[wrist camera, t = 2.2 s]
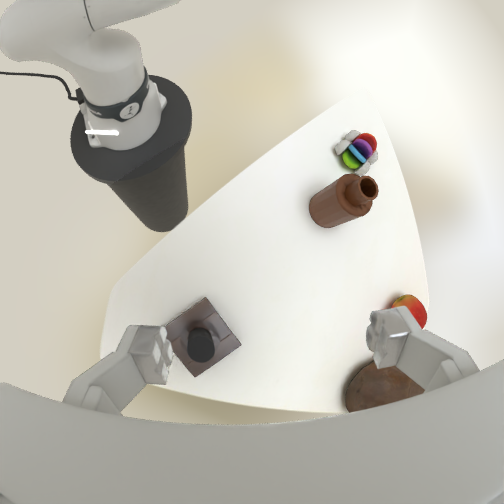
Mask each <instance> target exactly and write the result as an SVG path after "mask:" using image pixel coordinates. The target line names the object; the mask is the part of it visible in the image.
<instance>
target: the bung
mask: <svg viewBox="0 0 504 504" xmlns="http://www.w3.org/2000/svg"><path fill="white" fill-rule="evenodd" d="M187 353H188V355H189V357H190V358H191V359H192V360H193V361H195V362H199V363H204V362H207V361H209V360H210V359H212V357H213V356H214V353H215V346H214V343H213V339H212V336H211V334H210V332H209V331H208V330H206V329H204V328H195V329H193V330H192V331H191V332H190V334H189V336H188V343H187Z"/></svg>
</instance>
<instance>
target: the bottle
mask: <svg viewBox="0 0 504 504" xmlns="http://www.w3.org/2000/svg"><path fill="white" fill-rule="evenodd" d="M377 195H378V186H377V184H376V182H375V181H374V179H372V178H371V177H369V176H362V177H360V176H358V175H355V174H345V175H343V176H342V177H340V178H339V179H337V180H336V181H335V182H333V183H332V184H330V185H329V186H327V187H326V188H324V189H323V190H321V191H320V192H318V193H317V194H315V195H314V196H313V197H312V199H311V201H310V204H309V211H310V215H311V217H312V219H313V220H314V221H315V223H317V224H318V225H319V226H321V227H324V228H331V227H335V226H337V225H340V224H343V223H345V222H348V221H351V220H353V219H356V218H359V217H361V216H364V215H365V214H367V213H368V212H369V211H370V209H371V206H372V200H374V199H375V198H376V197H377Z"/></svg>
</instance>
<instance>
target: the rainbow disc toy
mask: <svg viewBox="0 0 504 504" xmlns="http://www.w3.org/2000/svg"><path fill="white" fill-rule="evenodd" d="M351 142H353V143H352V144H351ZM376 147H377V142H376V139H375V137H374V136H373V135H371V134H369V133H363V134H361V135H360V132H358V131H356V130H352V131H350V132H349V133H348V134H347V135H346V137H345V140H341V141H340V142H339V143H338V144H337V145H336V147H335V150H336V153H337V155H340V154H341V153H342V152H343V151H344V150H345V149H346V150H345V152H344V153H343V154H342V156H343V161H344V163H345V164H346V165H347V166H348V167H350V168H352V169H356V170H355V173H356V174H358V175H364V174H365V173H367V172H368V171H369V169H370V165H371V164H373V163H374V162H375V161H376V160H377V159H378V153H377V151H376Z"/></svg>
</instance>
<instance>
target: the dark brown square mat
mask: <svg viewBox="0 0 504 504" xmlns="http://www.w3.org/2000/svg"><path fill="white" fill-rule="evenodd" d="M164 327H165V329H166V331H167V336H166V339H168V340H169V341H170V343H171V346H172V350H173V351H174V353H175V354H176V355H177V356H178V358H179V359H180V360H181V361H182V363H183V364H184V365H185V366H186V368H187V369H188V370H189V371H190V372H191V374H192V375H193V376H194V377H197V376H198V375H200V374H201V373H202V372H204V371H205V370H207V369H208V368H210V367H211V366H213V365H214V364H216V363H217V362H218V361H220V360H221V359H223V358H224V357H225V356H227V355H228V354H230V353H231V352H232V351H234V350H235V349H237V348H238V347H239V346H241V343H240V342H239V340H238V339H237V338H236V337H235V335H234V334H233V333H232V331H231V330H230V329H229V327H228V326H227V325H226V324H225V322H224V321H223V320H222V318H221V317H220V316H219V314H218V313H217V311H216V310H215V309H214V307H213V306H212V305H211V303H210V302H209V301H208V299H207V298H206V297H205V298H204V299H202V300H201V301H200V302H198V303H197V304H195V305H194V306H193V307H191V308H190V309H188V310H187V311H186V312H184V313H183V314H181V315H180V316H179V317H177V318H176V319H174V320H173V321H172V322H170V323H169V324H167V325H166V326H164ZM195 328H204V329H206V330H208V331H209V332H210V334H211V336H212V339H213V343H214V346H215V353H214V356H213V357H212V359H210V360H209V361H207V362H204V363H199V362H195V361H193V360H192V359H191V358H190V357H189V355H188V353H187V343H188V336H189V334H190V332H191V331H192V330H193V329H195Z"/></svg>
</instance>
